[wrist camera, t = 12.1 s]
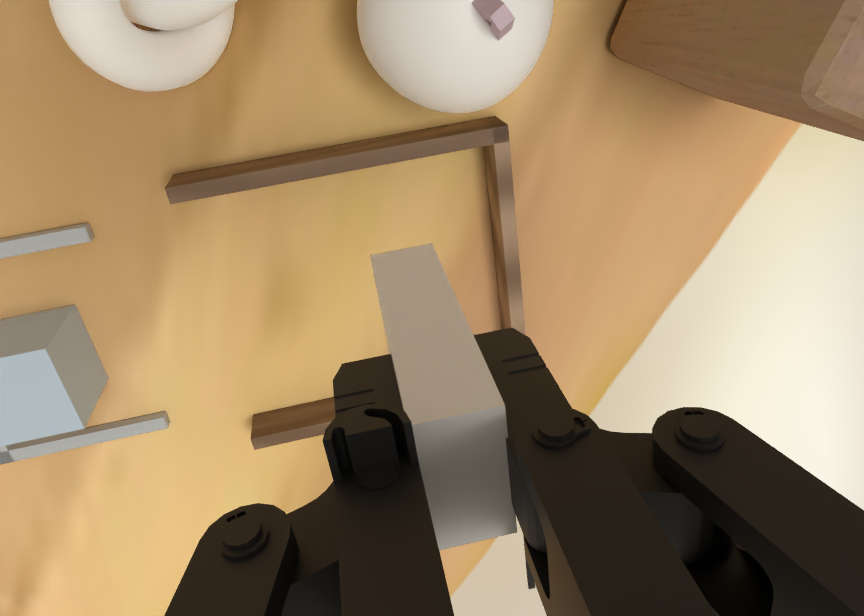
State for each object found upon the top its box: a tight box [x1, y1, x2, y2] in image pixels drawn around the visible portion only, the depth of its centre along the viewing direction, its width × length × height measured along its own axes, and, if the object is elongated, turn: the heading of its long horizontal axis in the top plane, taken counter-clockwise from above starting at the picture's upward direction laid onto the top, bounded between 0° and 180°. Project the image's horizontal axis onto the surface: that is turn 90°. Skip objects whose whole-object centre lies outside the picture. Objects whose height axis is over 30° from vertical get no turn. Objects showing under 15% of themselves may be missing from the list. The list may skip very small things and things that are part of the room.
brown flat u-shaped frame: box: [165, 116, 525, 450], centre depth 46 cm, size 20×21×3 cm
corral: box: [0, 223, 170, 464], centre depth 45 cm, size 16×12×1 cm
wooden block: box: [610, 0, 864, 141], centre depth 33 cm, size 10×10×20 cm
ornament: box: [357, 0, 553, 113], centre depth 34 cm, size 10×10×12 cm
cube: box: [0, 305, 108, 447], centre depth 43 cm, size 6×6×6 cm
